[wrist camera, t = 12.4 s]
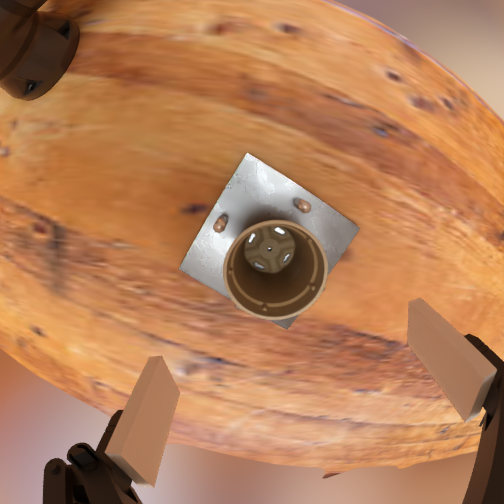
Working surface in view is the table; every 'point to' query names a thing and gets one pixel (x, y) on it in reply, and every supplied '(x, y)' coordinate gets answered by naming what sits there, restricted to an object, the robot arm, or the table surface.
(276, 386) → the table surface
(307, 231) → the flower pot
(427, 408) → the table surface
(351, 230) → the plate
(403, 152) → the table surface
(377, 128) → the table surface
